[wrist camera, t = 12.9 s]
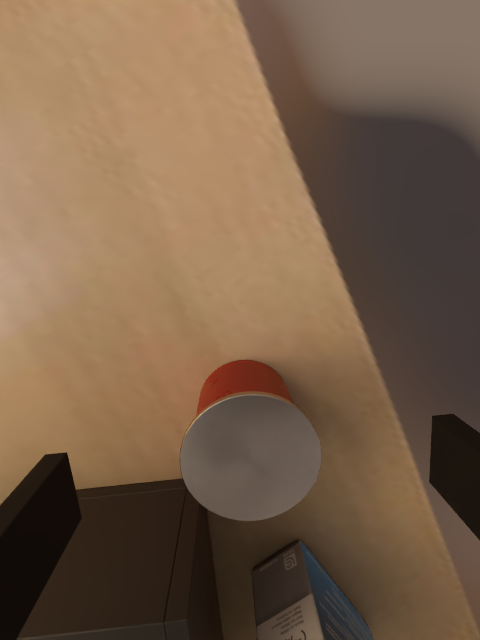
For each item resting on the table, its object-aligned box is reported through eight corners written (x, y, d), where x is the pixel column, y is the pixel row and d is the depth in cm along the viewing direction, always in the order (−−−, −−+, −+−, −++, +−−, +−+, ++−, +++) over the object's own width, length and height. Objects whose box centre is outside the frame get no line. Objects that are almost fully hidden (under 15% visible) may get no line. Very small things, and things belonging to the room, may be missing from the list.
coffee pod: (297, 443, 18) (324, 513, 13) (199, 453, 18) (188, 528, 13) (292, 348, 17) (319, 387, 12) (187, 358, 17) (170, 402, 12)
